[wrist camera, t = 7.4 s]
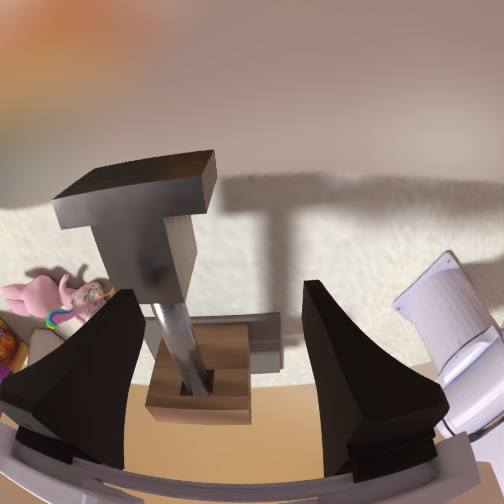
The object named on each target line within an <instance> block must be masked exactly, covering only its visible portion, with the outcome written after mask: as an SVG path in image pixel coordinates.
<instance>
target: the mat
mask: <svg viewBox="0 0 504 504" xmlns="http://www.w3.org/2000/svg"><path fill="white" fill-rule="evenodd" d="M144 318H145V317H144ZM145 320H146V327H145V333H144V339H145V341H146V343H147V346H148V348H149V350H150V352H151V354H152V356H153V357H154V359H155V360H156V356H157V352H158V348H159V344H160V340H161V336H162V333H161V330H160V328H159V325H158V323H157V320H156V318H145ZM190 320H191V324H201V323H230V322H248V329H249V338H250V374H263V373H278V372H280V313H269V314H253V315H234V316H210V317H190Z"/></svg>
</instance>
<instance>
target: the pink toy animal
mask: <svg viewBox="0 0 504 504" xmlns="http://www.w3.org/2000/svg"><path fill="white" fill-rule="evenodd" d="M68 279H69V275H68V274H65V275H64V276H63V277H62V279H61V281H60V285H59V287H57V284H56V283H55V282H53V281H52V279H51V278H50V277H48V276H44V275H40V276H38V277H37V278H36V279H34V280H33V281H31V282H30V283H28V284H12V285H9V286H5V287H1V288H0V291H1V292H2V293H3V294H4V295H6V296H7V297H9V298H13V299H17V300H12V299H5V301H6V303H7V304H8V306H9V307H10V308H11V310H12V311H13V312H15V313H16V314H18V315H22V316H31V315H34V316H36V317H39V318H46V324H47V326H48V327H49V328H51V329H56V328H58V326H57V324H59V323H62V322H65V321H68V320H70V319H71V318H73V317H74V318H76V319H77V320H78V321H79V322H81V323H82V324H85V323H86V320H85V319H84V318H82V317H80V316H79V315H81V316H83V317H86V318H91V317H92V316H93V315H94V314H95V313H96V312H97V311H98V310H99V309H100V308H101V307H102V306H103V305H104V304H105V303H106V302H107V301H106V300H105V299H104V298H103V297H105V296H109V295H111V297H113V296H112V295H114V293H115V290H114V288H113V286H112V289H111V290H110V292H108V293H106V294H104V293H103V287H102V286H101V284H99V283H98V282H89V283H87V284H85V285H83V286H82V287H81V288H80V289H78V290H75V289H72V288H66V281H67V280H68ZM62 305H63V306H64V307H65V308H66V309H67V310H64V309H61V307H62Z"/></svg>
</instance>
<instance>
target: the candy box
mask: <svg viewBox="0 0 504 504" xmlns="http://www.w3.org/2000/svg"><path fill="white" fill-rule="evenodd" d="M28 354H29V347H28V346H27V345H26V344H25V343H24V342H23V341H22V340H21V339H20V338H19V337H17V336H16V335H15V334H14V333H13V332H12V331H11V330H10V329H9V328H8V327H7V325H6V324H5V323H4V322H3V321H2V320H1V319H0V384H1V381H2V379H3V378H5V377H8V376H10V375H12V374H14V373H16V372H19V371H20V370H21V368H22V366H23V364H24V362H25V360H26V358H27V356H28ZM2 412H3V411H2V410H0V417H1V414H2Z"/></svg>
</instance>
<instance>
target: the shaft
mask: <svg viewBox="0 0 504 504" xmlns="http://www.w3.org/2000/svg"><path fill="white" fill-rule="evenodd" d="M216 180H217V169H216V161H215V152H214V150H205V151H196V152H189V153H180V154H173V155H166V156H160V157H153V158H146V159H141V160H135V161H129V162H124V163H119V164H114V165H109V166H104V167H99V168H95V169H93V170H92V171H90V172H89V173H87V174H86V175H84V176H83V177H82V178H80V179H79V180H78V181H76V182H75V183H73V184H72V185H71V186H69V187H68V188H67V189H65V190H64V191H63V192H61V193H60V194H59V195H57V196H56V197H55V198H54V199H52V203H53V207H54V210H55V213H56V216H57V219H58V222H59V224H60V227H61V230H63V229H70V228H77V227H84V226H90V227H91V230H92V233H93V236H94V238H95V241H96V244H97V247H98V250H99V253H100V255H101V258H102V261H103V263H104V266H105V268H106V271H107V273H108V276H109V278H110V281H111V283H112V286H113V288H114V290H115V293H117V292H118V291H119V290H120V289H133V291H134V293H135V296H136V299H137V301H138V304H150V305H151V308H152V310H153V313H154V315H155V318H156V320H157V323H158V325H159V328H160V330H161V333H162V335H163V338H164V340H165V342H166V345H167V347H168V349H169V352H170V354H171V356H172V358H173V361H174V363H175V365H176V367H177V369H178V372H179V374H180V376H181V378H182V380H183V382H184V384H185V386H186V388H187V390H188V392H189V394H190V396H204V397H212V395H213V388H212V385H211V382H210V379H209V377H208V374H207V371H206V368H205V365H204V362H203V359H202V356H201V353H200V350H199V346H198V343H197V340H196V337H195V334H194V330H193V327H192V324H191V320H190V317H189V314H188V310H187V307H186V303H185V301H186V296H187V292H188V288H189V284H190V280H191V276H192V272H193V267H194V264H195V260H196V256H197V247H196V242H195V236H194V231H193V225H192V220H191V215H193V214H205V213H207V210H208V207H209V203H210V200H211V196H212V193H213V190H214V186H215V183H216Z"/></svg>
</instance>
